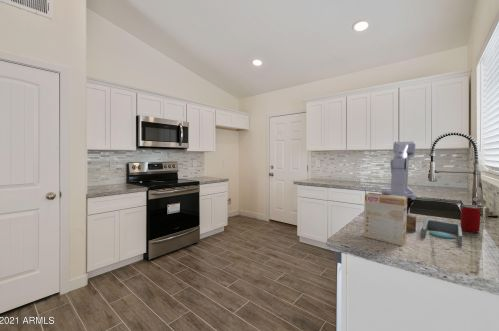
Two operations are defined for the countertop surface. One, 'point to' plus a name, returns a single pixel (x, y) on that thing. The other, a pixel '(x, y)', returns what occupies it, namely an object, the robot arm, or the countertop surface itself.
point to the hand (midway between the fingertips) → (397, 211)
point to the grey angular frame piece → (443, 228)
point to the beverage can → (470, 218)
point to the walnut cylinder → (411, 223)
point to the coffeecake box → (385, 218)
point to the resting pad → (442, 235)
